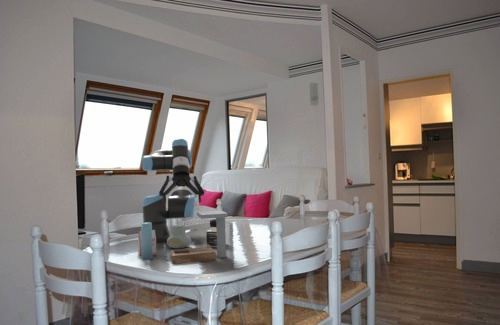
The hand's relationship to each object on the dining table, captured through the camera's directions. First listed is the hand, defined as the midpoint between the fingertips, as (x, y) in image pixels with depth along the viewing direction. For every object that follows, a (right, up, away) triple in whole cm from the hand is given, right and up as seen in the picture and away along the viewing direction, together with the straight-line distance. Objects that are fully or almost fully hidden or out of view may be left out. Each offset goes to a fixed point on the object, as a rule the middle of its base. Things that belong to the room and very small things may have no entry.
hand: (182, 209), depth 175 cm
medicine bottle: (+15, -18, +6) cm, 24 cm away
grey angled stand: (+15, -17, -19) cm, 30 cm away
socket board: (+7, -17, -21) cm, 28 cm away
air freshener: (-2, -18, +4) cm, 19 cm away
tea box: (-13, -18, -9) cm, 24 cm away
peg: (-11, -18, -18) cm, 27 cm away
